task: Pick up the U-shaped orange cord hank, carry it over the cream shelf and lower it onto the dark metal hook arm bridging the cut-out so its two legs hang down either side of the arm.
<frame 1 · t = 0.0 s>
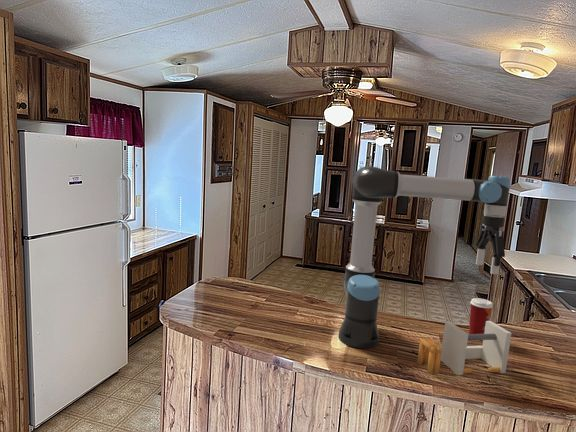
hand: (486, 269, 157), 28 cm above the counter, fingers open, 13 cm apart
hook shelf: (472, 366, 135), on the counter
cord hank: (427, 367, 132), on the counter
coffee cup: (476, 337, 160), on the counter
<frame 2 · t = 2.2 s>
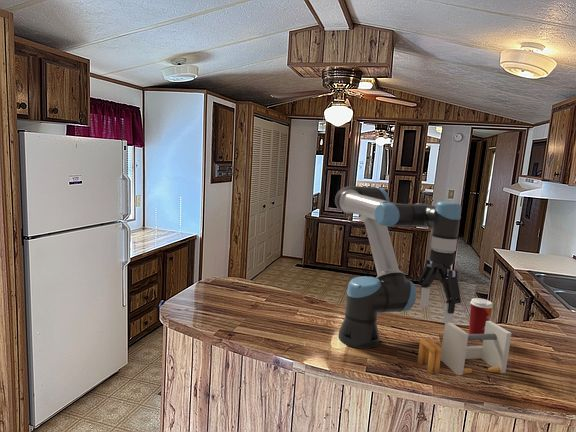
hand: (435, 313, 130), 19 cm above the counter, fingers open, 13 cm apart
nothing on the counter moved.
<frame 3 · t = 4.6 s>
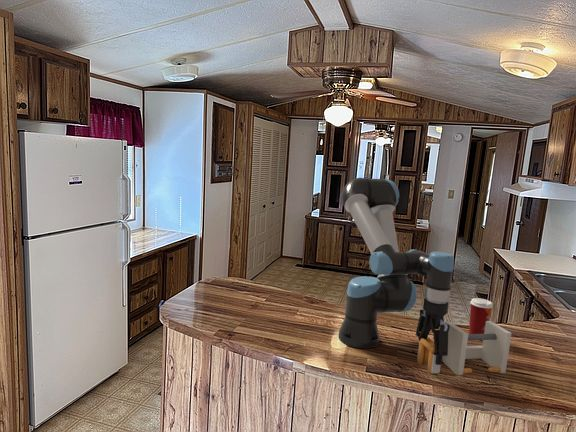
hand: (428, 365, 132), 1 cm above the counter, fingers closed on cord hank, 8 cm apart
cord hank: (427, 367, 132), on the counter, touching gripper
everything else where it was.
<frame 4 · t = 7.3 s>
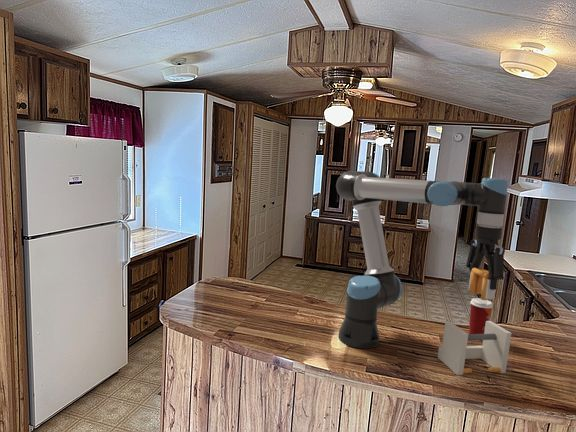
hand: (480, 294, 131), 26 cm above the counter, fingers closed on cord hank, 8 cm apart
cord hank: (480, 296, 131), point 25 cm above the counter, touching gripper
everything else where it was.
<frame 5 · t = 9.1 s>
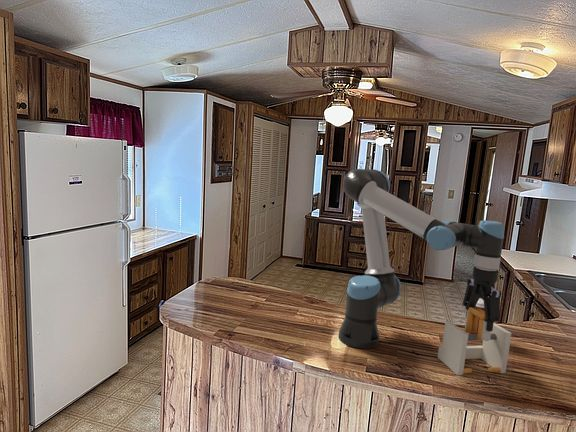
hand: (477, 333, 134), 12 cm above the counter, fingers closed on cord hank, 8 cm apart
cord hank: (476, 335, 134), point 11 cm above the counter, touching gripper
everything else where it was.
when the fingers open (7 cm above the counter, at t = 10.5 s): cord hank drops 1 cm, resting on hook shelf.
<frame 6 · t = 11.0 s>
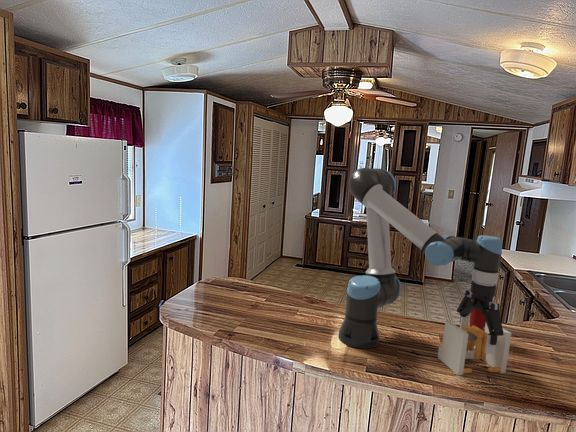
hand: (475, 343, 134), 8 cm above the counter, fingers open, 13 cm apart
cord hank: (473, 353, 135), point 4 cm above the counter, touching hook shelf
everything else where it was.
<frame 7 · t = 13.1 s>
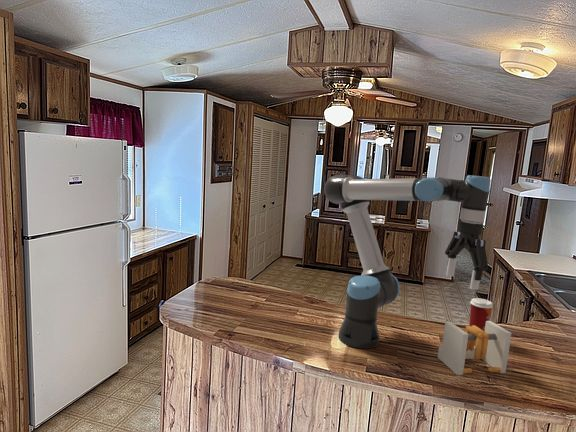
hand: (461, 282, 137), 28 cm above the counter, fingers open, 13 cm apart
nothing on the counter moved.
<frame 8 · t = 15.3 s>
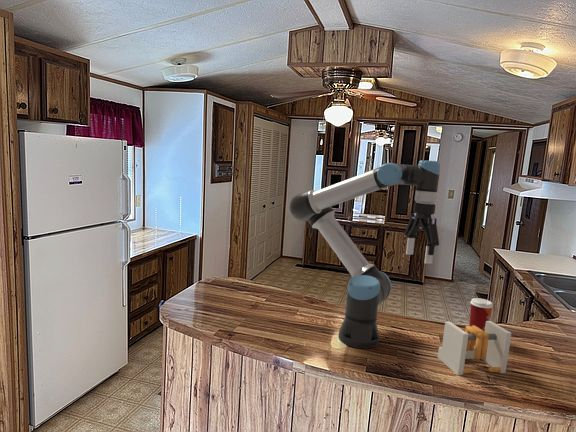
hand: (418, 258, 150), 32 cm above the counter, fingers open, 13 cm apart
nothing on the counter moved.
at the end: cord hank inside the target area on the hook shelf (0.1 cm from its centre), point 4.5 cm above the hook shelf's base; cord hank touching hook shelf; the gripper is holding nothing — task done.
